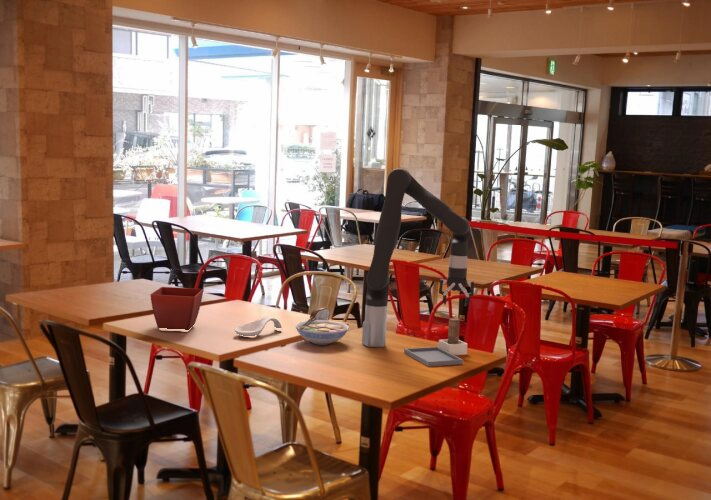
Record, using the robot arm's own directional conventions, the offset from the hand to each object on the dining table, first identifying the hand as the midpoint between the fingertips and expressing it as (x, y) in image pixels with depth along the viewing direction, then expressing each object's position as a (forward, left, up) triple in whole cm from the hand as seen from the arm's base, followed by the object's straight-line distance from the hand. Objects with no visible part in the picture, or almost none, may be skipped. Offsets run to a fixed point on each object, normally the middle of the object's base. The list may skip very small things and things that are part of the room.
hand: (455, 305), depth 331 cm
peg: (0, 0, -20) cm, 20 cm away
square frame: (0, 0, -20) cm, 20 cm away
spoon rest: (-70, +47, -21) cm, 87 cm away
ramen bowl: (-48, +27, -20) cm, 59 cm away
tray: (-13, -7, -20) cm, 25 cm away
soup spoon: (-37, +59, -20) cm, 73 cm away
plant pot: (-102, +64, -20) cm, 122 cm away
